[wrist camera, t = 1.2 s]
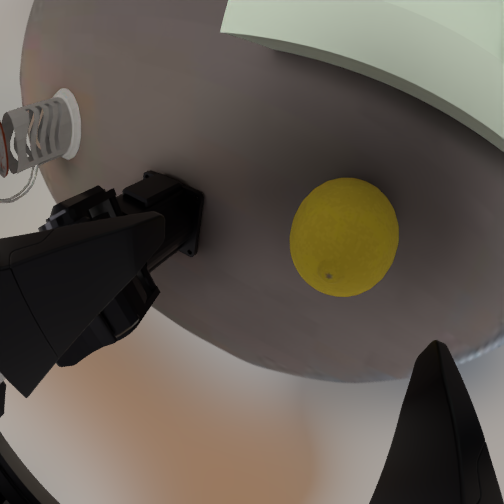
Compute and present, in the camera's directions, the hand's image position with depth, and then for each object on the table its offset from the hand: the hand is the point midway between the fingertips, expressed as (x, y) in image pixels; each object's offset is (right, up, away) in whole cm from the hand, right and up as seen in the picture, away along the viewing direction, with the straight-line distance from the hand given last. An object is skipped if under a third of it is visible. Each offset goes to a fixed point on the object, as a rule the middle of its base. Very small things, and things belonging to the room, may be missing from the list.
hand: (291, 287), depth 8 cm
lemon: (+6, +4, +9) cm, 12 cm away
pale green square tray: (+9, +16, -1) cm, 18 cm away
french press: (-25, +16, +19) cm, 35 cm away
